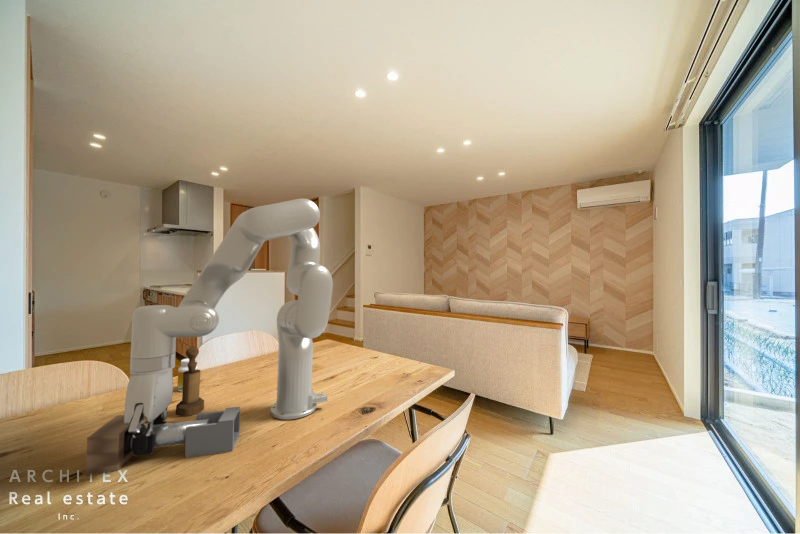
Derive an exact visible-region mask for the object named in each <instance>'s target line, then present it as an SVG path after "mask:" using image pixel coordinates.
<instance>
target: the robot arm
mask: <svg viewBox="0 0 800 534" xmlns="http://www.w3.org/2000/svg"><path fill="white" fill-rule="evenodd" d="M320 219H321V211H320V209H319V207H318V205H317V204H316V203H315V202H314V201H313V200H311V199H309V198H295V199H290V200H284V201H282V202H276V203H271V204H266V205H259V206H255V207H252V208H250V209H247V210H245V211H243V212H242V213H241V214H239V215H238V216H237V217H236V219H235V220H234V222H233V224H231V227H230V228H229V230H228V231H227V233H226V234H225V236H224V238H223V239H222V241H221V242H220V244H219V246H217V249H216V250H215V251H214V253H213V254H212V256H211V258H210V259H209V260H208V262H207V263H206V264H205V266H204V267H203V269H202V271H201V272H200V273H199V275H198V276H197V277H196V279H195V280H194V282H193V283H192V284H191V286H190V288H188V291H187V292H186V293H185V295H184V297H183V298H182V300H181V301H180V303H179V305H178V306H177V307H176V306H173V305H170V304H169V305H168V304H154V305H153V304H151V305H143V306H140V307H136V308H135V309H134V310H133V311H132V317H131V319H132V320H131V337H130V339H131V340H130V341H131V342H130V361H129V362H130V364H129V374H130V376H129V380H128V384H127V388H126V393H125V394H126V396H125V402H124V411H123V412H124V413H123V415H124V424H126V425H127V424H130V423H131V424H130V427H129V433H132V434H133V438H134V453H133V455H132V456H134V457H140V456H150V455H152V453H154V448H155V447H154V434H152V429H153V425H156V424H166V423H167V421H166V420H168V419H167V418H168V413H167V411H168V408H169V406H170V405H171V404H172V401H173V394H174V377H173V376H174V375H173V374H174V373H173V369H174V368H175V367H176V355H177V354H176V349H177V347H176V346H177V338H200V337H205V336H207V335H209V334H212V332H214V331H215V330H216V329H217V328H218V325H219V323H220V322H219V321H220V318H219V314H218V312H217V310H216V307H217V305H218V303H219V302H220V300H221V299H222V297H224V295H225V293H226V292H227V291H228V289H230V287H232V286H233V285H234V284H235V283H237V282H239V281H240V280H241V279H242V278H243V277H245V275H246V274H247V273H248V271H249V269H250V267H251V265H252V264H253V262H254V260H255V258H256V257H257V255H258V253H259V252H260V250H261V248H262V247H263V246H264V244H265V242H266V241H271V240H275V239H279V238H282V237H283V238H284V237H286V236H287V238H288V241H289V243H290V244H289V245H290V254H289V261H288V266H287V273H286V281H285V285H286V288H287V289H288V292H289V293H291V294H293V295H295V296H297V299H294V300H290V301H287V302H286V303H283V305H282V306H281V307H280V308H279V310H278V312H277V316H276V328H277V337H278V338H277V340H278V341H277V342H278V349H277V350H278V351H277V352H278V356H277V385H276V402H275V403H273V404H272V405H271V407H270V415H271V416H272V417H273V418H275V419H278V420H296V419H300V418H304V417H306V416H309V415H310V414H312V413H314V412H315V411H316V409H317V403H326V402H328V394H324V393H323V392H313V390H314V388H313V358H314V357H313V353H314V343H313V339H315V338H318V337H320V336H321V335H322V334H323V333H324V332H325V330H326V328H327V326H328V323H329V319H330V311H331V306H332V305H331V304H332V297H333V289H334V288H333V287H334V282H333V277H332V274H331V272H330V271H329V269H328V268H327V267H326V266H324V265H322V264H320V262H321V261H320V260H321V242H320V238H319V235H318V234H317V231H316V230H315V227H316V226H317V224H319V222H320ZM143 417H144V418H147V419H144V420H142V418H143ZM141 424H144V425H145V424H146V426H147V428H146V427H142V426H141Z"/></svg>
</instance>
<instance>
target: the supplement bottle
mask: <svg viewBox="0 0 800 534" xmlns="http://www.w3.org/2000/svg"><path fill="white" fill-rule="evenodd" d="M196 360H197V359H195V361H196ZM188 363H189V358H188V357H187V358H183V359H181V360H180V366H179V367H178V369H177V387H176V388H177V392H180V393H181V392H182V393H183V373H184V372H185V371H188V370H189V369H188V366H187V364H188ZM198 367H199V366H198V365H197V366H196V369H195V370H199V368H198Z"/></svg>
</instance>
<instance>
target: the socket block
mask: <svg viewBox="0 0 800 534" xmlns="http://www.w3.org/2000/svg"><path fill="white" fill-rule="evenodd" d="M142 420H145V417H143V418H142ZM130 424H131V423H130ZM130 424H127V425H126V424H124V414H122V415H121V414H119V415H116V416H114V417H113V418H112V419H110V420H109V421H108V422H106V423H105V424H104V425H102V426H101V427H100V428H98V429H96V430H95V432H93V433H92V434H90V435H89V436H87V437H86V458H85V476H88V475H92V474H93V475H94V474H101V473H107V472H115V471H118V470H120V468H121V467H123V465H124V464H125V463H126V462H127V461H129V459H130V458H131V457H132V456H134V455H133V453H134V452H130V451H124V433H125V432H126V431H127V430H128V429H129V427H130Z"/></svg>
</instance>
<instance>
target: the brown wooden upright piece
mask: <svg viewBox="0 0 800 534" xmlns="http://www.w3.org/2000/svg"><path fill="white" fill-rule="evenodd" d="M199 352H200V350H199V348H198V347H197V346H191V347H188V348H187V349H186V351H185V355H186V357H187V358H189V363H188V364H187V366H188V369H189V370H188V371H185V372H184V373H183V392H182V396H181V401H179V402H178V403H177V404H176V405H175V415H176V416H178V417H189V416H190V417H191V416H194V415H197V414H198V413H202V412H203V411H204V409H205V400H204V399H203V398H201V396H200V387H201V369H198V370H195V369H196V366H198V365H197V364H198V361H197V362H196V361H195V359H196V358H197V357H198V355H199ZM196 360H197V359H196Z"/></svg>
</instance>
